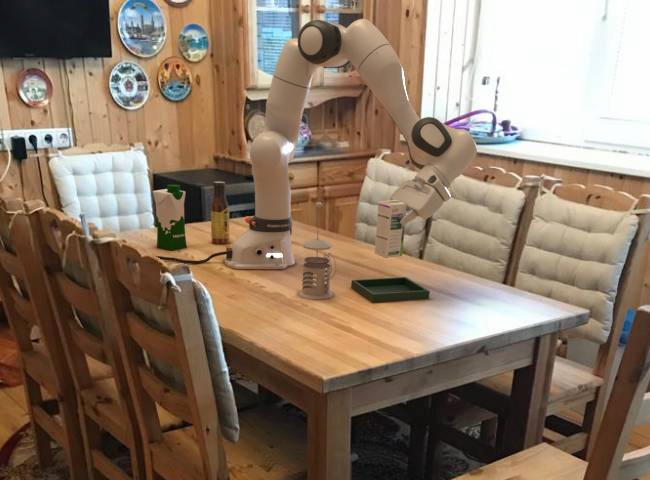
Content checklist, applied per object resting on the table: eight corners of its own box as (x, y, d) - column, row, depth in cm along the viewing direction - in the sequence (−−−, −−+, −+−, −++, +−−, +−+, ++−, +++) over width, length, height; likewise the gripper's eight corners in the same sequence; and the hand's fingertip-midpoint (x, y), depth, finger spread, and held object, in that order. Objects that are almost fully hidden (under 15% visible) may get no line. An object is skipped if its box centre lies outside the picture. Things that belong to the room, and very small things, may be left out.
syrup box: (386, 258, 227) (391, 204, 219) (373, 253, 231) (378, 199, 223) (402, 256, 230) (408, 202, 222) (388, 251, 234) (394, 198, 226)
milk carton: (171, 251, 270) (168, 187, 260) (152, 247, 274) (148, 183, 264) (190, 247, 276) (188, 184, 266) (171, 243, 280) (168, 181, 270)
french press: (316, 287, 238) (319, 197, 225) (344, 296, 231) (349, 204, 218) (291, 293, 232) (293, 201, 219) (319, 302, 224) (323, 207, 212)
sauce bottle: (228, 245, 281) (227, 184, 272) (210, 244, 281) (208, 183, 271) (230, 241, 287) (229, 181, 277) (213, 240, 287) (211, 180, 277)
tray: (372, 303, 226) (373, 294, 225) (351, 288, 239) (351, 280, 238) (428, 299, 232) (429, 290, 231) (405, 284, 245) (405, 276, 244)
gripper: (407, 169, 231) (373, 206, 233) (441, 181, 215) (404, 220, 216) (419, 185, 235) (386, 221, 237) (453, 198, 219) (417, 237, 220)
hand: (395, 221), depth 226 cm, fingers closed on syrup box, 6 cm apart
